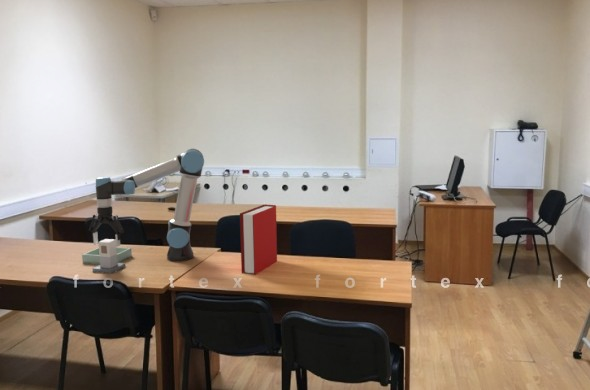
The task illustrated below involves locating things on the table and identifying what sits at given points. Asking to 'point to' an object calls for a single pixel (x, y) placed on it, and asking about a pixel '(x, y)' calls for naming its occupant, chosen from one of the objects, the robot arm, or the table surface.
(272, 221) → the book
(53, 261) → the table surface
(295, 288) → the table surface
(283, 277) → the table surface
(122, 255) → the bin
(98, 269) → the stud block
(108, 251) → the white grey block
